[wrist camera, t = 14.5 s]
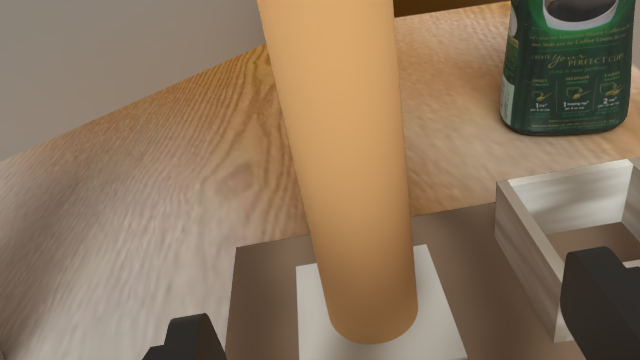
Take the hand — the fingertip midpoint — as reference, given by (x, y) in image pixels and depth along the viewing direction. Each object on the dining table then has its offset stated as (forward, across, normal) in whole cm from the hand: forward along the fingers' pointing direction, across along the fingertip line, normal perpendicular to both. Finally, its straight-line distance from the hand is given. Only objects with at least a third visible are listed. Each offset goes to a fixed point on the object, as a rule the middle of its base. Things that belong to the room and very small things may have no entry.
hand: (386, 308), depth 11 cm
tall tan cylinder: (+11, 0, +12) cm, 16 cm away
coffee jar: (+30, -19, +14) cm, 38 cm away
